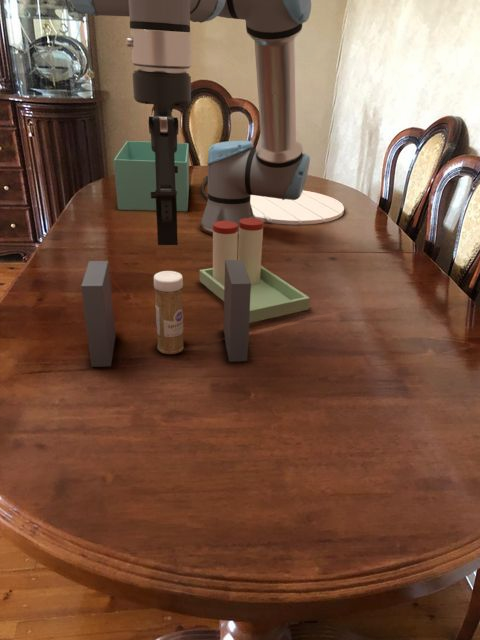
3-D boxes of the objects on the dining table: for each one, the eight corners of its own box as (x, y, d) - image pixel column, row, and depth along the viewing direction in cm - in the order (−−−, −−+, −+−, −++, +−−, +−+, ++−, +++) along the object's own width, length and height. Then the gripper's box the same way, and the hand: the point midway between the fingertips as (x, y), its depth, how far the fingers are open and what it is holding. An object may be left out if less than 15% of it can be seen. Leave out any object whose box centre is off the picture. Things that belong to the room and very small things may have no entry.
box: (117, 209, 158) (113, 159, 151) (129, 184, 185) (126, 140, 178) (187, 211, 160) (186, 162, 153) (189, 186, 188) (188, 143, 180)
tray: (199, 284, 114) (199, 269, 112) (253, 274, 120) (254, 260, 118) (249, 326, 98) (250, 310, 96) (308, 312, 105) (310, 297, 103)
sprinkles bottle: (177, 357, 87) (174, 282, 80) (152, 352, 88) (148, 277, 81) (188, 345, 91) (187, 272, 84) (164, 339, 92) (161, 267, 85)
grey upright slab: (229, 361, 87) (231, 283, 80) (223, 332, 95) (224, 259, 88) (247, 361, 87) (251, 283, 80) (239, 332, 96) (242, 259, 89)
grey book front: (91, 367, 83) (80, 285, 76) (98, 336, 92) (89, 260, 85) (110, 366, 84) (102, 285, 77) (115, 336, 92) (108, 260, 85)
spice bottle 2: (233, 278, 115) (234, 219, 109) (252, 274, 118) (255, 216, 111) (244, 286, 112) (246, 226, 105) (264, 283, 114) (268, 223, 108)
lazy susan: (248, 229, 149) (249, 217, 147) (205, 194, 179) (205, 183, 178) (367, 219, 164) (368, 208, 162) (308, 188, 194) (309, 179, 192)
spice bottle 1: (208, 282, 113) (208, 222, 106) (229, 279, 115) (230, 219, 108) (219, 291, 109) (220, 229, 102) (240, 287, 111) (242, 226, 105)
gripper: (136, 63, 78) (144, 206, 89) (126, 73, 57) (138, 258, 68) (186, 66, 80) (188, 206, 90) (196, 77, 58) (197, 258, 69)
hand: (167, 229), depth 79 cm, fingers open, 13 cm apart
